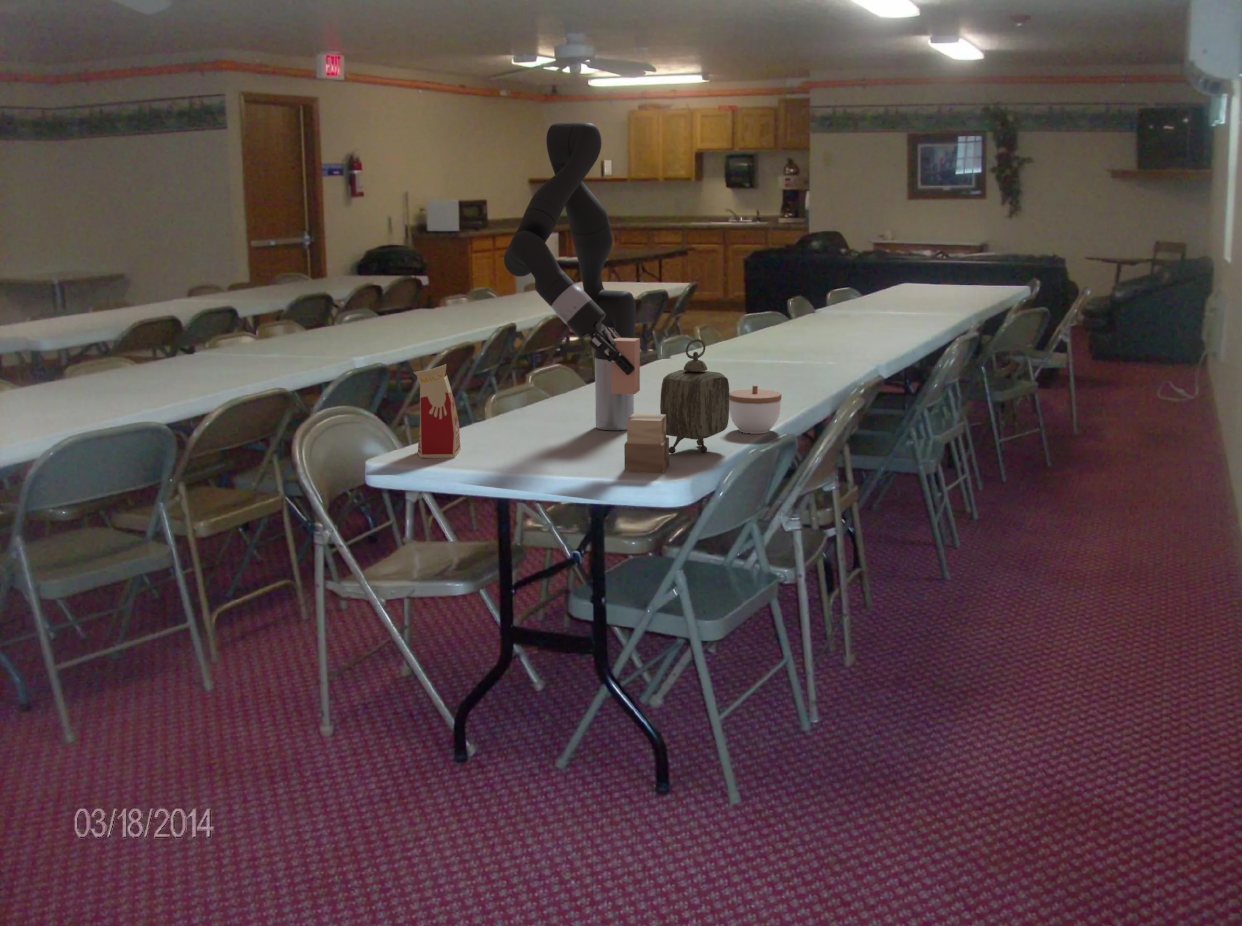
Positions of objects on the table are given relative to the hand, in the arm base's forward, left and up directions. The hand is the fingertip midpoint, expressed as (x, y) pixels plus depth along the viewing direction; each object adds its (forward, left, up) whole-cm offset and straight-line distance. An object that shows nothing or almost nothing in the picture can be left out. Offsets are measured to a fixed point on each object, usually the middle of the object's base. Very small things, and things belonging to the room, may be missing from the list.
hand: (634, 369), depth 250 cm
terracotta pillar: (+1, -2, -5) cm, 5 cm away
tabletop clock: (-18, +7, -21) cm, 28 cm away
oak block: (+2, +4, -14) cm, 15 cm away
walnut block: (+1, +4, -20) cm, 21 cm away
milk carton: (+8, -44, -21) cm, 50 cm away
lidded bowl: (-45, +10, -21) cm, 50 cm away
